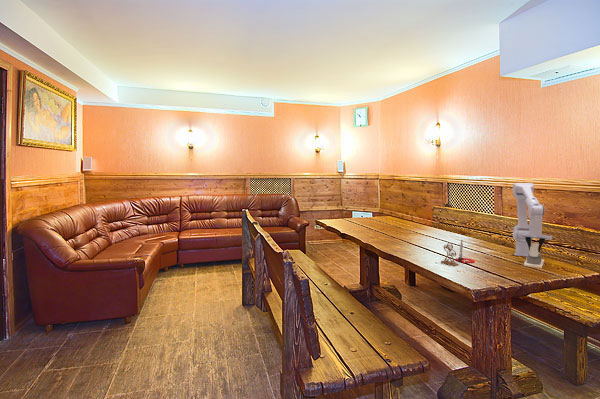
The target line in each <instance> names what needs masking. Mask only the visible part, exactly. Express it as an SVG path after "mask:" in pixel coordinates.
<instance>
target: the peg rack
mask: <svg viewBox="0 0 600 399" xmlns="http://www.w3.org/2000/svg"><path fill="white" fill-rule="evenodd" d="M523 263H524V264H523V266H525V267H530V268H537V269H543V267H542V266H544V263H545V260H544V258H543V259H542V254H538V257H533V256H530V254H528V257H527V256H526V259H525V260H524V262H523Z"/></svg>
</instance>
